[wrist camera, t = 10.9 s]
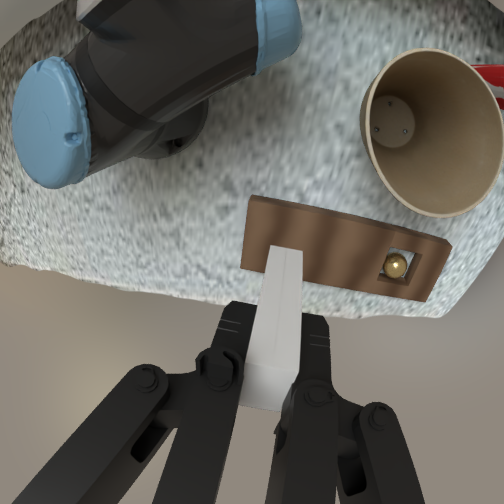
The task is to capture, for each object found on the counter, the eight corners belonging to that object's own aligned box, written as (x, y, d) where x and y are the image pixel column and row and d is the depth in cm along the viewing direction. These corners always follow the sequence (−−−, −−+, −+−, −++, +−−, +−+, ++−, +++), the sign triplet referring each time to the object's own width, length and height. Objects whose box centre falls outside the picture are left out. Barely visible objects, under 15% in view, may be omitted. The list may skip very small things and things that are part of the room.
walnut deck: (243, 259, 44) (240, 268, 42) (251, 194, 39) (248, 200, 36) (421, 293, 42) (425, 302, 39) (446, 239, 36) (452, 246, 34)
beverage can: (479, 73, 22) (544, 74, 9) (478, 112, 25) (544, 126, 12) (449, 59, 23) (512, 49, 10) (448, 99, 26) (514, 105, 13)
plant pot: (389, 195, 35) (434, 249, 21) (314, 118, 32) (325, 124, 18) (454, 130, 28) (524, 152, 14) (385, 48, 25) (436, 18, 11)
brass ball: (375, 267, 40) (385, 284, 37) (383, 246, 38) (395, 262, 35) (394, 267, 41) (405, 283, 38) (402, 247, 39) (415, 262, 35)
